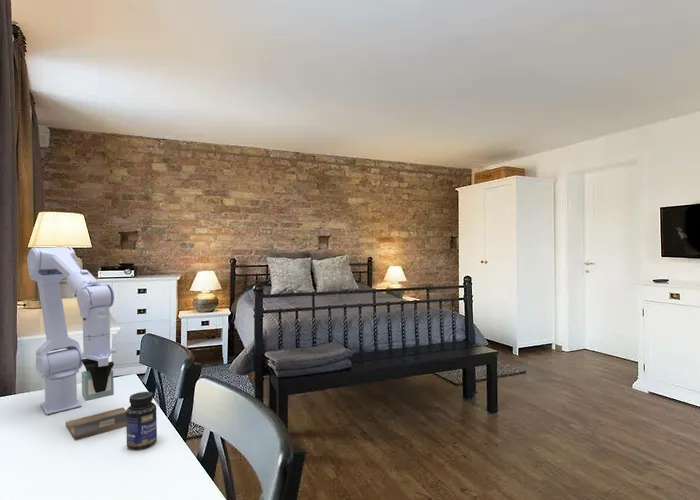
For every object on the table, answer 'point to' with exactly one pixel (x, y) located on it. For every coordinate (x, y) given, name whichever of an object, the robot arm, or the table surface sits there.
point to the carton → (88, 387)
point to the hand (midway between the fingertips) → (98, 388)
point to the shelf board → (97, 423)
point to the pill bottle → (141, 421)
